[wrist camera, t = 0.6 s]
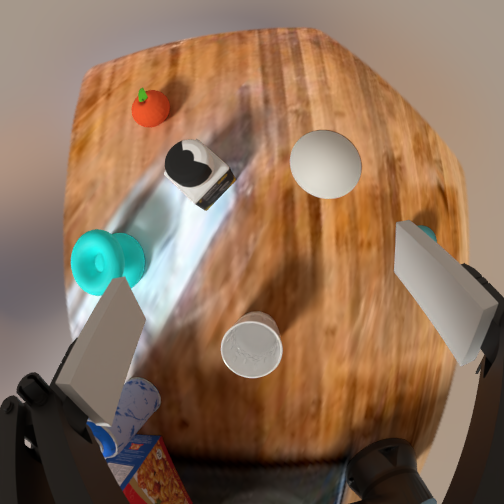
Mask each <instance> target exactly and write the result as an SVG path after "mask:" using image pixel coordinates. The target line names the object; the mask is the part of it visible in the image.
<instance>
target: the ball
mask: <svg viewBox="0 0 504 504" xmlns="http://www.w3.org/2000/svg"><path fill="white" fill-rule="evenodd" d="M418 227H419V228H420V229H421V230H422V231H424V232H425V233H426V234H427V235H428V236H429V237H431V238H432V239H433V240H434V241H435V242H436V243H437V239H436V236H435V234H434V232H433V231H432V230H431V229H430V228H428V227H426V226H423V225H419V226H418Z"/></svg>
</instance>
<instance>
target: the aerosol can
mask: <svg viewBox="0 0 504 504" xmlns="http://www.w3.org/2000/svg"><path fill="white" fill-rule="evenodd" d="M160 404H161V397H160V394H159V391H158V390H157V389H156V387H155V386H154V385H153V384H152V383H151V382H149V381H148V380H146V379H144V378H139V377H134V378H131V379H129V380H128V381H127V382H126V383H125V384H124V386H123V389H122V392H121V395H120V399H119V402H118V406H117V409H116V412H115V416H114V419H113V423H112V427H108V426H99V425H96V424H95V423H94V422H93V421H92V420H90V419H89V418H88V420H87V423H86V424H87V425H89V427H90V428H91V430H92V432H93V435H94V437H95V439H96V441H97V443H98V446H99V448H100V450H101V452H102V454H103V456H104V457H105V458H112V457H115V456H116V455H118V454H119V453H120V452H121V451H122V450H123V448H124V447H125V446H126V445H127V444H128V443H129V441H130V440H131V439H132V438H133V437H134V435H135V434H136V433H137V432H138V431H139V429H140V428H141V427H142V426H143V425H144V423H145V422H146V421H147V420H148V419H149V417H150V416H151V415H152V414H153V413H154V412H155V411H156V410H157V409H158V408H159V407H160Z"/></svg>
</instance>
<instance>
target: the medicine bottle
mask: <svg viewBox="0 0 504 504" xmlns="http://www.w3.org/2000/svg"><path fill="white" fill-rule="evenodd" d="M165 169H166V170H165V172H164V175H165V176H166V177H167V178H168V179H169V180H170V181H171V182H172V183H173V184H174V185H175V186H176V187H177V188H178V189H180V190H181V191H182V192H183V193H184V194H185V195H186V196H187V197H188V198H189V199H190V200H191V201H192V202H193V203H194V204H196V205H197V206H199V207H200V208H202V209H204V210H205V211H206V210H208V209H209V208H210V207H211V206H212V205H213V204H214V203H215V201H216V200H217V199H218V198H219V197H220V196H221V195H222V194H223V193H224V192H225V191H226V190H227V189H228V188H229V187H230V186H231V185H232V184H233V183H234V182H235V181H236V178H235V177H234V175H233V173H232V171H231V169H230V167H229V166H228V165H227V164H226V163H225V162H223V161H222V160H221V159H220V158H219V157H218V156H217V155H215V154H214V153H213V152H212V151H211V150H210V149H209V148H207V147H206V146H205V145H204V144H203V143H202V142H200V141H199V140H198V139H196V140H192V139H188V140H183V141H180V142H178V143H177V144H175V145H174V146H173V147H172V148H171V149H170V150H169V152H168V154H167V156H166V159H165Z"/></svg>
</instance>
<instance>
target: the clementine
mask: <svg viewBox="0 0 504 504" xmlns="http://www.w3.org/2000/svg"><path fill="white" fill-rule="evenodd" d="M169 110H170V104H169V101H168V99H167V97H166V96H165V95H164V94H163V93H161V92H159V91H155V90H150V91H146V92H145V91H144V89H143V88H141V89H140V90H139V94H138V97H137V98H136V99H135V101H134V103H133V105H132V116H133V118H134V120H135V121H136V122H137V123H138V124H139V125H141V126H144V127H155V126H157V125H159V124H161V123H162V122H163V121H164V120H165V119H166V118H167V116H168V114H169Z"/></svg>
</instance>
